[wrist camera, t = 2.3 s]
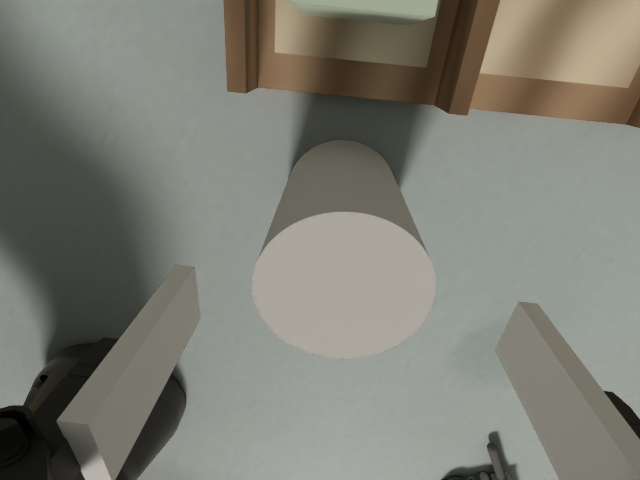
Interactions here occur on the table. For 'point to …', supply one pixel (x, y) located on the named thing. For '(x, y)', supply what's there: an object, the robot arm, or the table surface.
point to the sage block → (370, 10)
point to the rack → (450, 56)
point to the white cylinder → (343, 257)
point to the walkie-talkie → (499, 477)
